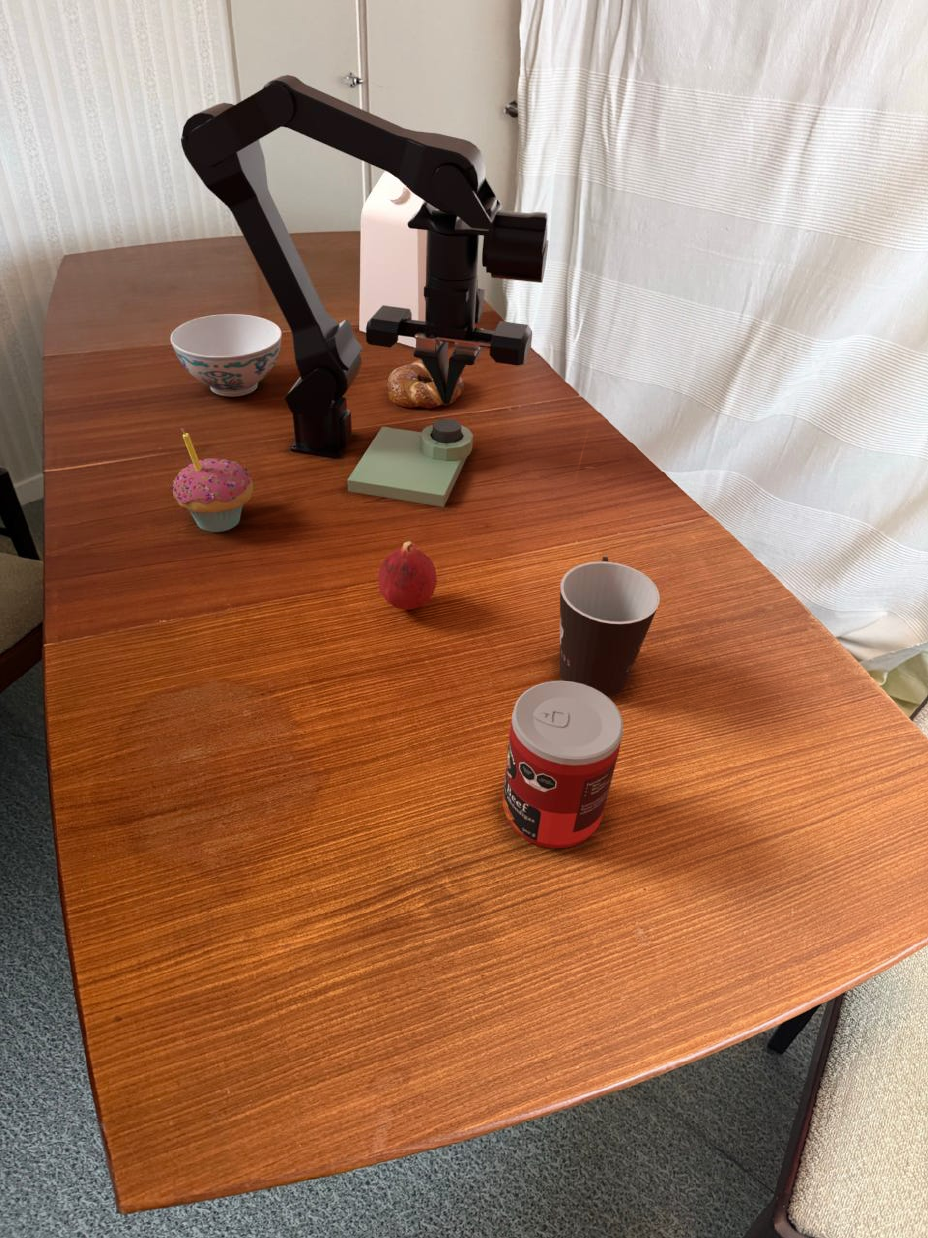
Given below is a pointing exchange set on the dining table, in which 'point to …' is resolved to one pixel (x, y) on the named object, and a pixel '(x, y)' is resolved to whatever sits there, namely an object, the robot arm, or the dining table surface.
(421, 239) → the milk
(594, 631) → the coffee mug
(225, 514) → the cupcake
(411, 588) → the onion
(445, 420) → the button
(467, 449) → the green flat block
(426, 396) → the twisted bread ring
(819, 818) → the dining table surface
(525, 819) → the canned food
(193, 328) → the chinaware
